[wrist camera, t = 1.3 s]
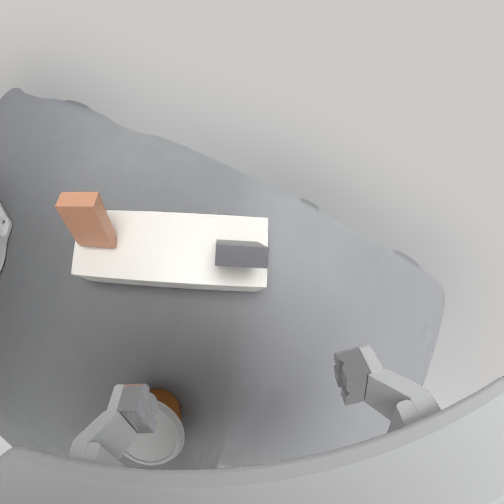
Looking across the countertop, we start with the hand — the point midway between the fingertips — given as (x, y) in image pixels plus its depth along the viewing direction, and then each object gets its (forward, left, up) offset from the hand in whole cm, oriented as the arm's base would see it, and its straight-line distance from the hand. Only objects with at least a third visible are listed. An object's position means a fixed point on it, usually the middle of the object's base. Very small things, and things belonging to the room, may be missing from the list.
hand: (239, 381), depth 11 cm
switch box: (-13, +1, -32) cm, 35 cm away
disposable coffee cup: (+4, -15, -32) cm, 36 cm away
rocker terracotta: (-19, -6, -23) cm, 31 cm away
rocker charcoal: (-8, +8, -23) cm, 26 cm away
